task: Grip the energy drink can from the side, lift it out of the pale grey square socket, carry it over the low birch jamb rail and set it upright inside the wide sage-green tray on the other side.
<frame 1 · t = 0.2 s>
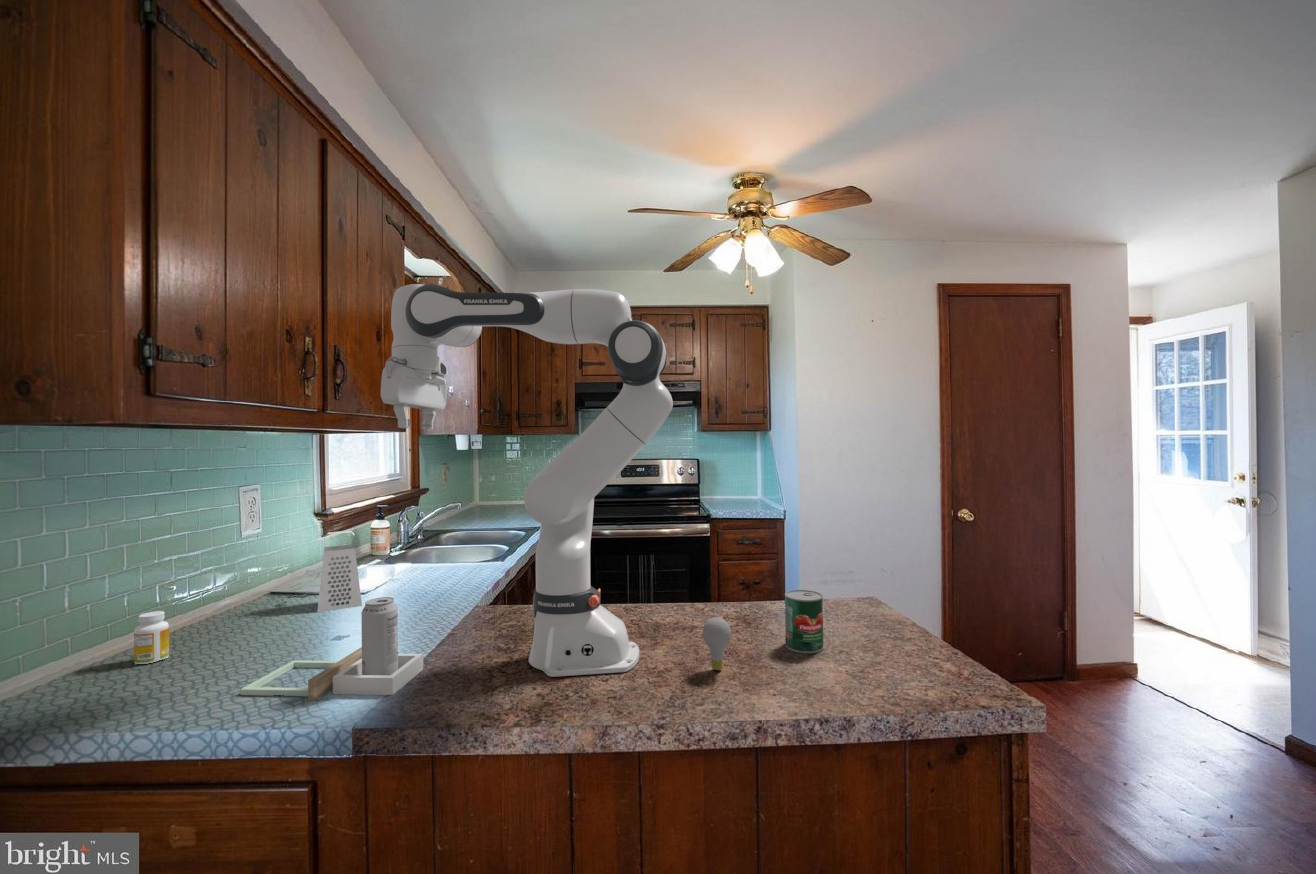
hand: (416, 429, 115), 47 cm above the table, tool pointing down, fingers open, 8 cm apart
supplement bottle: (151, 661, 115), on the table
energy drink can: (380, 682, 103), resting in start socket
jamb rail: (341, 680, 104), on the table
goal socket: (301, 679, 104), on the table
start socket: (380, 681, 103), on the table
grater: (340, 605, 154), on the table
light bulb: (717, 671, 106), on the table
canned tomato: (804, 647, 118), on the table
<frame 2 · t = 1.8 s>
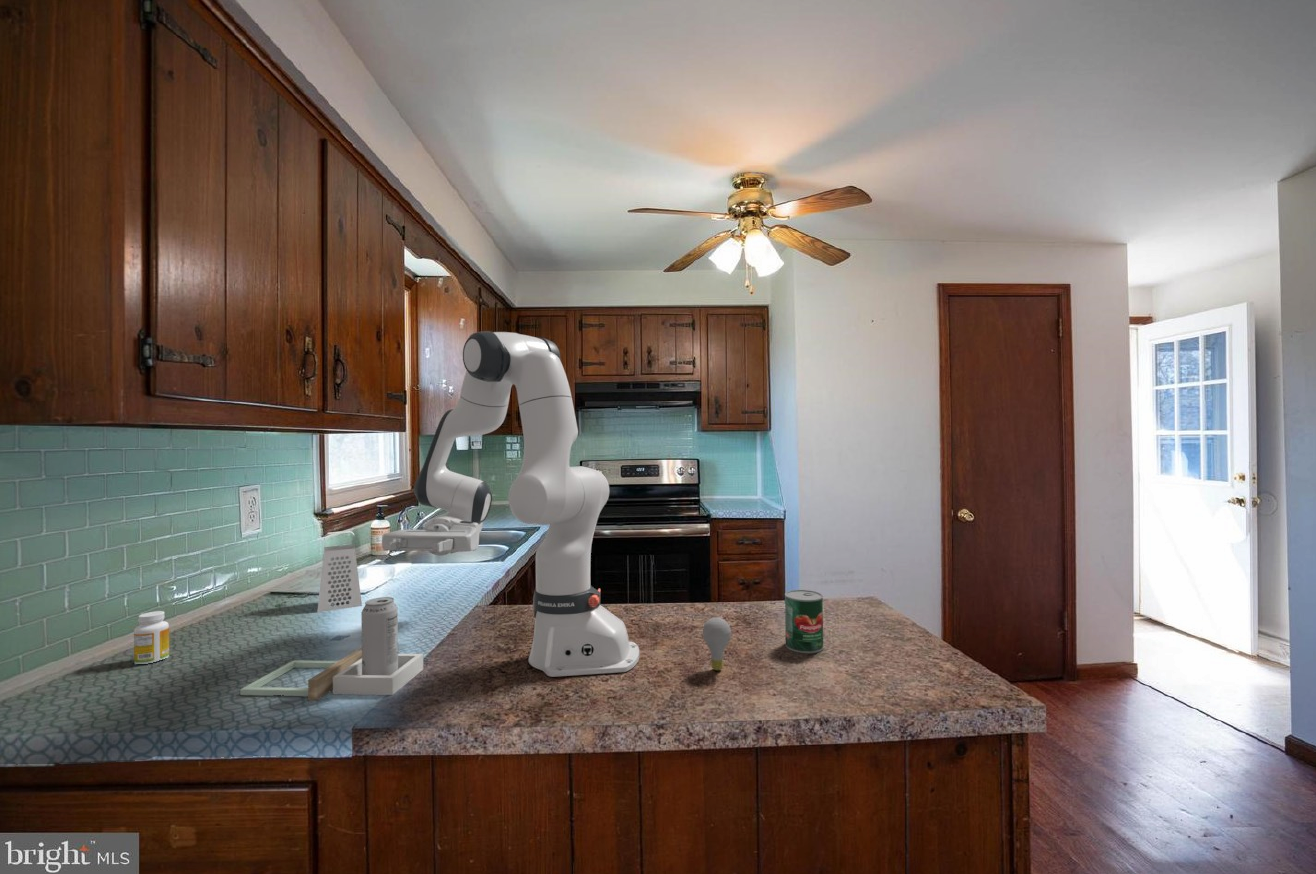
hand: (413, 547, 116), 22 cm above the table, tool horizontal, fingers open, 8 cm apart
nothing on the table moved.
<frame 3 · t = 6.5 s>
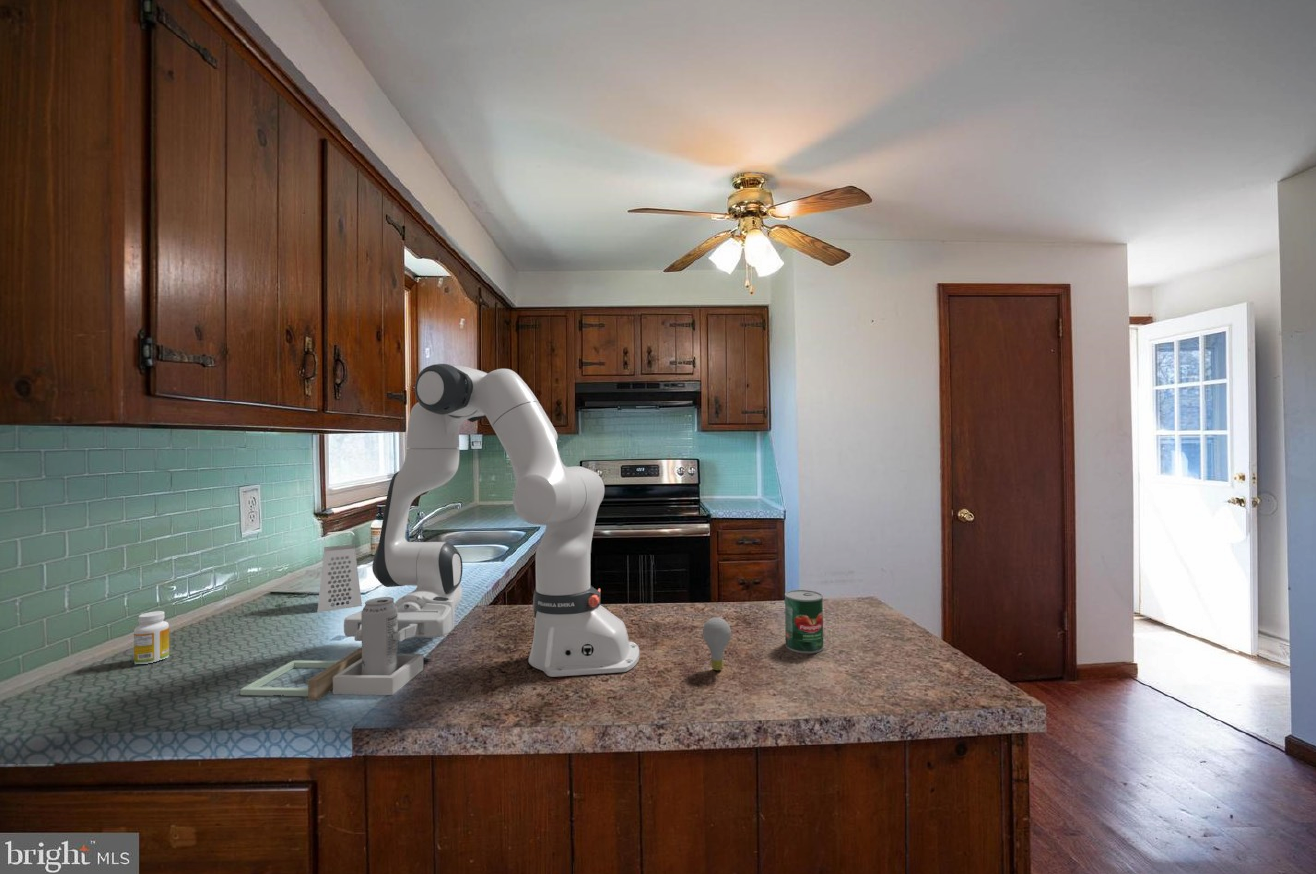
hand: (377, 637, 102), 9 cm above the table, tool horizontal, fingers closed on energy drink can, 6 cm apart
energy drink can: (380, 682, 103), resting in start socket, touching gripper
everything else where it was.
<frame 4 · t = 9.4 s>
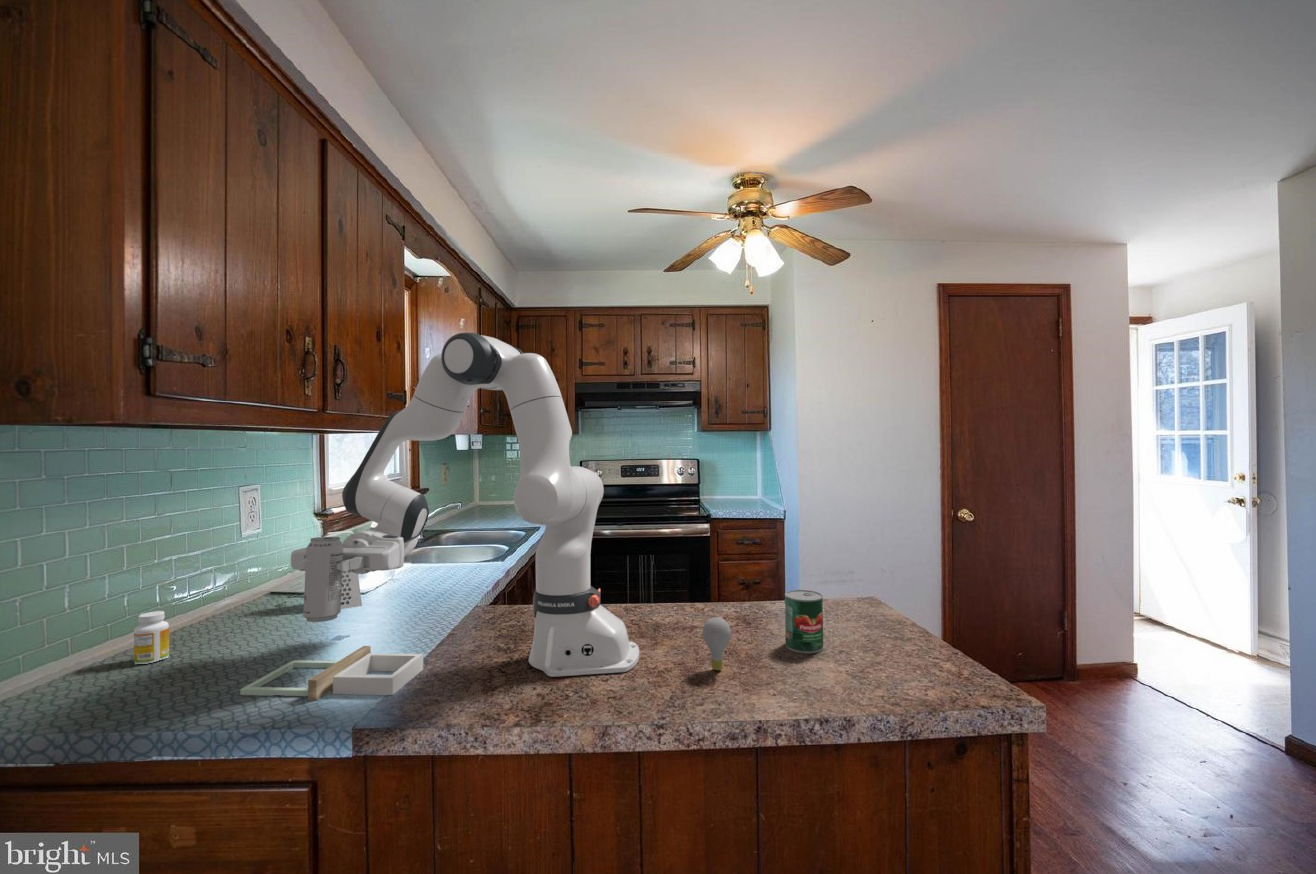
hand: (320, 566, 103), 21 cm above the table, tool horizontal, fingers closed on energy drink can, 6 cm apart
energy drink can: (321, 619, 104), point 11 cm above the table, touching gripper
everything else where it was.
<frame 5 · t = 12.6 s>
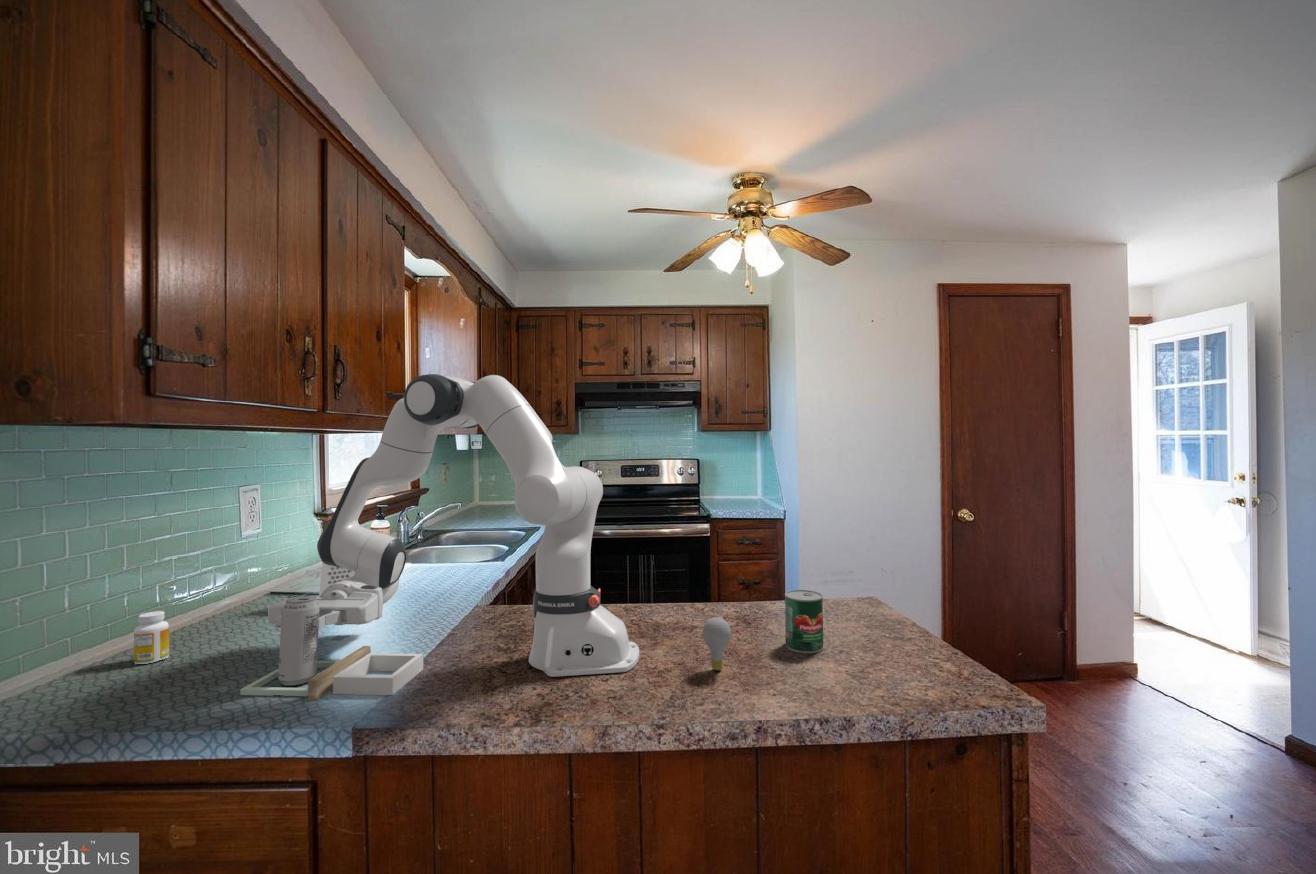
hand: (296, 623, 103), 11 cm above the table, tool horizontal, fingers closed on energy drink can, 6 cm apart
energy drink can: (297, 681, 103), resting in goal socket, touching gripper
everything else where it was.
when the fingers open (11 cm above the table, at t = 13.9 s): energy drink can stays where it is, resting in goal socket.
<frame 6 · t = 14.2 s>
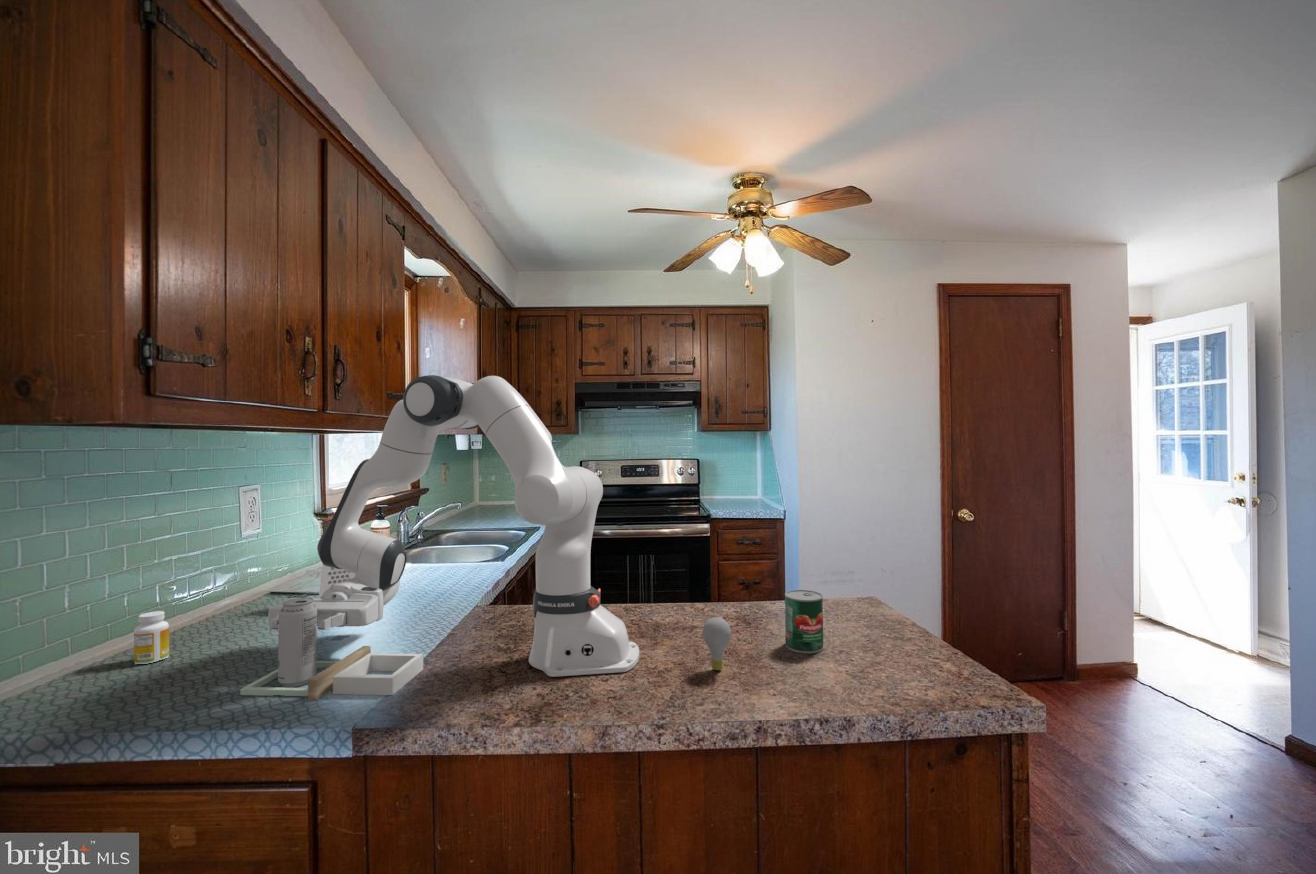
hand: (297, 625, 103), 11 cm above the table, tool horizontal, fingers open, 8 cm apart
energy drink can: (297, 682, 103), resting in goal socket
everything else where it was.
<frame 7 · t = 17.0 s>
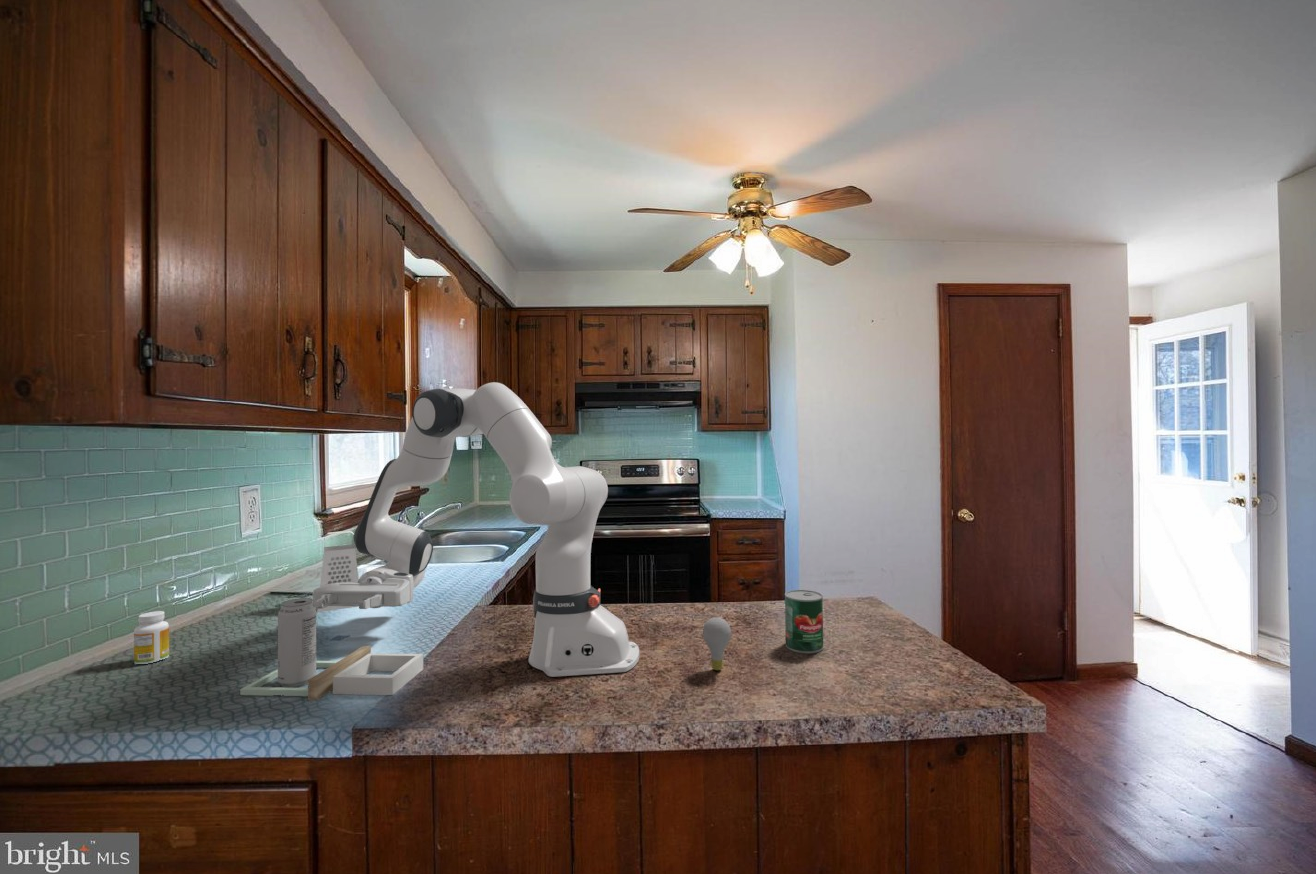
hand: (340, 605, 116), 11 cm above the table, tool horizontal, fingers open, 8 cm apart
nothing on the table moved.
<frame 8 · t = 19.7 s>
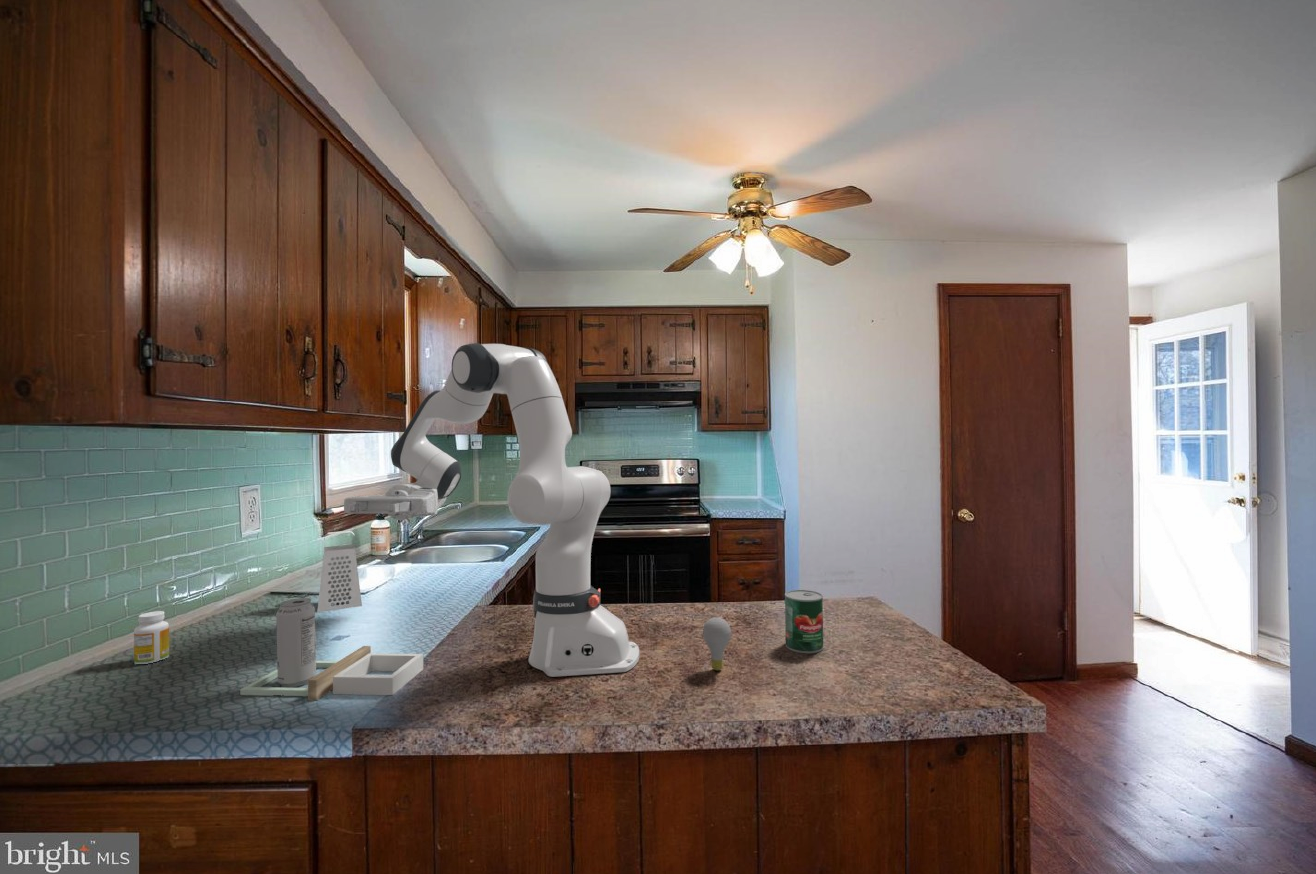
hand: (371, 508, 123), 30 cm above the table, tool horizontal, fingers open, 8 cm apart
nothing on the table moved.
at the end: energy drink can 0.9 cm off-centre on the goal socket, point 0.0 cm above the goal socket's base; energy drink can tilted 1°; the gripper is holding nothing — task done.
